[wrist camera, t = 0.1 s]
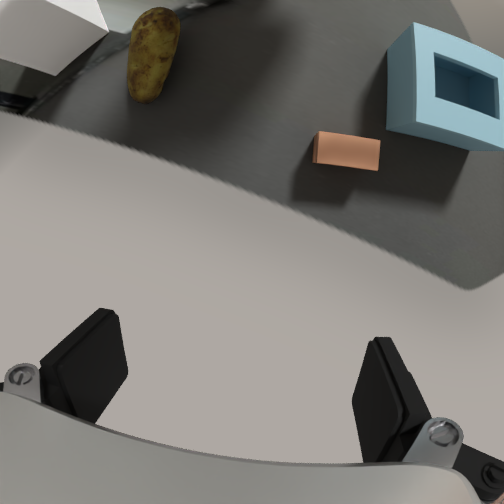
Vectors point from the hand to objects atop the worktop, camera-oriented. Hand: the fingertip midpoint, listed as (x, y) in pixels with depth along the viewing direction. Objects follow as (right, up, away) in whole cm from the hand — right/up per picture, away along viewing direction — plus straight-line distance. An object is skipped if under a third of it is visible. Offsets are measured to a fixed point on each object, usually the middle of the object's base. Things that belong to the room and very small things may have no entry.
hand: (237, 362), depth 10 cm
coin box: (+25, +25, +22) cm, 42 cm away
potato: (-12, +31, +25) cm, 41 cm away
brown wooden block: (+12, +17, +26) cm, 33 cm away
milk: (-29, +41, +24) cm, 56 cm away
